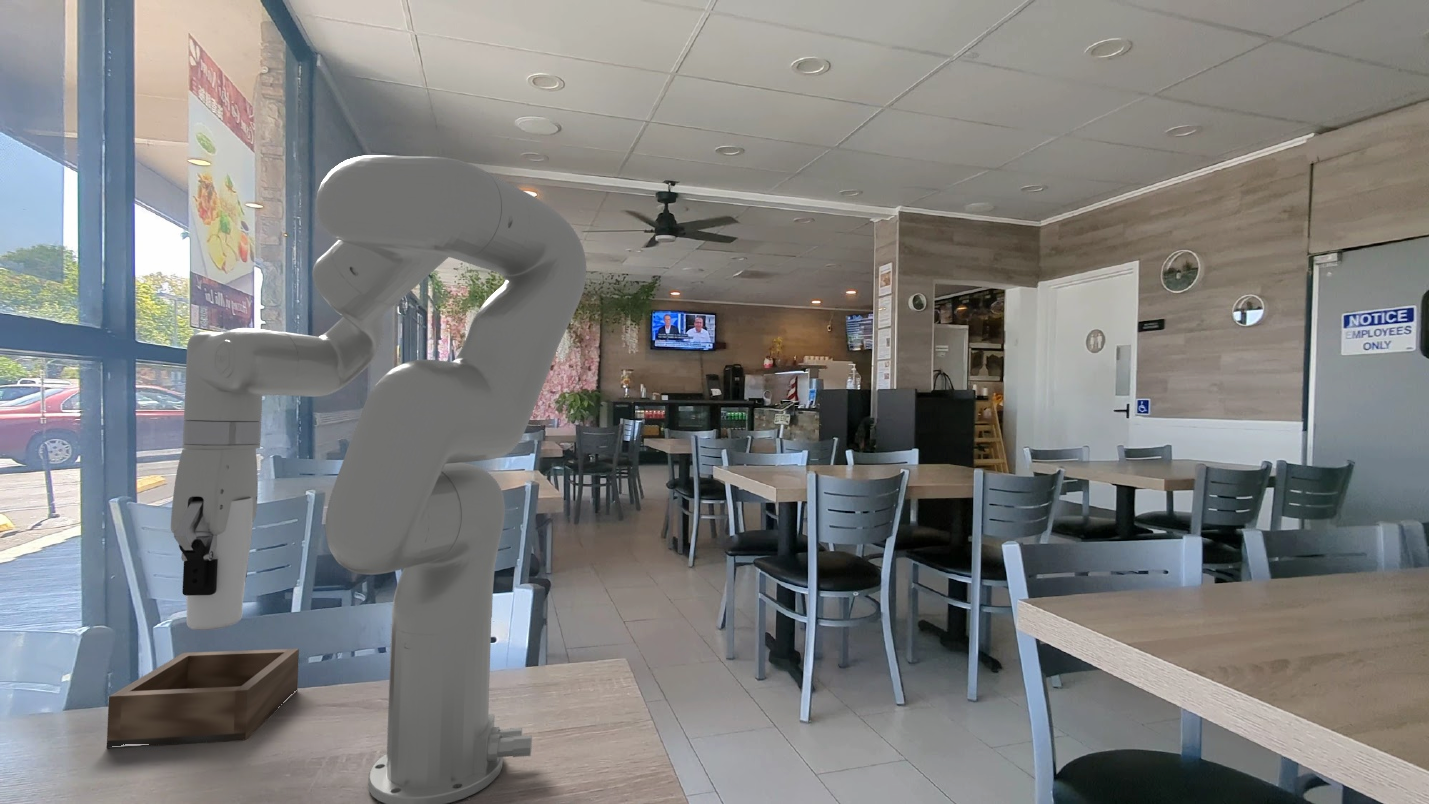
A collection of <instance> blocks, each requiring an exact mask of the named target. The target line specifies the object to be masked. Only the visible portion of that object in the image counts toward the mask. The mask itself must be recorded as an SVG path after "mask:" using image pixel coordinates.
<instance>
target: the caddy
mask: <svg viewBox="0 0 1429 804" xmlns="http://www.w3.org/2000/svg"><path fill="white" fill-rule="evenodd" d="M299 654H300V648H280V649H279V648H278V649H276V648H275V649H253V650H251V649H250V650H226V651H223V650H221V651H198V652H195V651H194V652H193V651H192V652H181V654H179V655H177V656H175V657H174V658H172V659H170V660H168V661H167V662H165V663H163V664H162V665H160V666H157V668H155V669H153V670H151V671H150V672H148V673H146V674H145V675H143V676H142V677H140V678H138V679H136V680H135V681H133V682H131V683H130V684H128V685H125V687H122V688H121V689H119V690H118V691H116V692H114V693H112V694H110V695H109V696H108V705H107V706H108V709H107V732H106V733H107V734H106V749H109V748H108V747H112V746H121V745H123V744H124V745H125V744H149V745H155V746H167V745H168V746H169V745H170V746H171V745H185V744H188V745H189V744H203V743H218V742H221V743H222V742H223V743H224V742H236V741H237V742H238V741H247V739H249V738H250V737H251V736H252V734H254V733H255V732H256V731H257V730H258V729H259V728H260V727H261V726H262V725H264V724H265V722H266V721H267V720H269V719H270V718H271V717H272V716H273V715H272V714H273V713H274V712H275V711H276V710H277V709H278V707H279V706H281V704H283V702H284V701H285V700H286V699H287V698H288V697H289V696H290V695H291V694H293V693H294V691H296V690H297V691H298V687H299V684H298V683H299V662H300V661H299V660H300V659H299V657H300V656H299ZM283 705H284V704H283ZM281 707H282V706H281ZM278 710H279V709H278ZM278 710H277V711H278ZM277 711H276V712H277ZM276 712H275V713H276ZM275 713H274V714H275ZM271 715H272V716H271ZM270 716H271V717H270Z"/></svg>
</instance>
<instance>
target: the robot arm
mask: <svg viewBox="0 0 1429 804" xmlns="http://www.w3.org/2000/svg"><path fill="white" fill-rule="evenodd" d="M315 205H316V206H315V211H316V215H317V218H318V221H319V222H320V225H321V227H322V228H323V229H324V230H325V231H326V232H327V233H328V234H329V235H330V236H331V237H333V238H335V239H336V240H337V241H335V243H333V244H332V246H331V247H329V249H328V250H327V251H326V252H324V253H323V254H322V255H321V256H320V257H319V258H317V260H316V261H315V263H314V264H313V268H312V279H313V283H314V286H315V288H316V290H317V291H318V293H319V294H320V296H321V297H322V298H323V300H324V301H325V302H326V303H327V305H329V306H330V308H332V309H333V310H334V311H335V312H336V313H338V314H339V315H340V316H341V318H340V319H339V320H338V321H337V322H336V323H335V324H334V325H333V326H332V327H330V328H329V329H328V330H327V331H326V332H324V333H323V334H321V335H319V336H314V335H308V334H301V333H294V332H286V331H277V330H270V329H261V328H253V327H252V328H251V327H250V328H249V327H241V328H234V329H230V330H227V331H224V332H220V331H203V332H202V331H201V332H197V333H195V334H192V336H191V337H189V340H188V342H187V345H186V361H185V362H186V365H185V366H186V367H185V368H186V369H185V384H184V385H185V387H184V388H185V391H184V409H183V412H184V413H183V425H182V426H183V428H182V429H183V430H182V431H183V432H182V450H181V453H180V455H179V456H180V457H179V460H178V466H177V468H176V469H177V470H176V474H175V475H176V476H175V481H174V488H173V497H172V506H171V517H170V531H171V533H172V534H173V538H174V539H175V541H176V542H177V544H178V548H179V550H180V551H181V556H180V557H181V558H180V559H181V560H182V562H183V571H182V573H183V574H182V594H183V596H185V597H186V596H189V595H212V594H214V593H216V588H217V566H218V559H213V557H214V554H215V550H216V546H217V535H219V534H221V533H223V532H224V531H225V529H226V525H227V521H228V516H229V512H230V506H231V502H232V501H237V500H244V499H249V497H250V496H251V497H252V498H253V522H254V520H255V519H256V516H257V511H258V510H257V508H258V497H259V496H258V492H259V491H258V489H259V486H258V482H259V481H258V460H257V458H258V457H257V450H256V449H260V448H261V435H262V412H263V411H262V410H263V396H273V397H275V396H290V397H291V396H292V397H294V396H295V397H310V398H311V397H312V398H315V397H316V398H317V397H326V396H329V395H331V394H334V393H336V392H338V391H340V390H342V389H343V388H345V387H346V386H347V385H348V384H350V383H351V382H352V381H354V379H356V378H357V377H358V376H359V375H360V374H361V373H363V371H365V370H366V369H367V368H369V366H370V365H371V364H372V363H373V362H374V360H375V358H376V357H377V355H378V353H379V350H380V349H381V348H380V347H381V345H382V340H383V338H384V337H383V336H384V331H385V320H384V316H385V315H386V314H387V313H388V312H389V311H390V310H391V309H393V308H394V307H395V306H396V305H398V303H399V302H400V301H401V300H402V299H403V298H404V297H406V296H407V295H408V294H409V293H410V292H411V291H412V290H414V289H415V288H416V287H417V286H418V285H420V284H421V283H422V282H423V280H425V279H426V278H427V277H429V275H430V274H432V273H433V272H434V271H435V270H436V269H437V268H439V266H441V265H442V264H444V262H445V261H446V260H447V259H448V258H452V259H455V260H458V261H461V262H463V263H466V264H470V265H473V266H476V267H477V268H478V267H479V268H481V269H486V270H490V271H492V272H495V273H499V274H500V275H501V276H502V277H503V279H504V283H503V284H502V285H501V286H500V287H499V288H498V289H497V290H496V291H495V292H493V293H492V294H491V295H490V296H489V297H488V298H487V299H486V300H485V301H484V302H483V304H482V305H481V307H480V308H479V310H477V313H476V314H475V316H474V318H473V320H472V321H471V324H470V326H469V330H468V333H467V336H466V338H465V340H464V342H463V345H462V347H461V349H460V351H459V353H458V354H457V356H456V358H455V359H454V360H452V361H445V360H437V359H415V360H409V361H406V362H404V363H401V364H398V365H397V366H395V367H393V368H392V369H390V370H389V371H388V372H386V374H384V375H383V376H382V377H381V378H380V379H379V381H377V383H376V384H375V385H374V386H373V387H372V389H371V391H370V392H369V394H368V396H367V397H366V400H365V403H364V405H363V408H362V410H361V412H360V415H359V417H358V420H357V423H356V426H355V427H354V432H353V433H352V436H351V439H350V440H349V441H350V442H349V444H348V446H347V450H346V453H345V455H344V458H343V460H342V463H341V466H340V468H339V471H338V473H337V476H336V480H335V482H334V485H333V488H332V489H331V490H332V491H331V493H330V497H329V500H328V503H327V508H326V512H325V513H326V514H325V522H324V524H325V525H324V526H325V527H324V529H325V537H326V541H327V546H328V549H329V552H331V555H332V556H333V558H334V559H335V561H336V562H337V563H338V564H339V565H340V566H342V568H345V569H346V570H348V571H350V572H352V573H357V574H360V575H382V574H388V573H392V572H396V571H400V570H401V573H400V577H399V579H398V582H397V585H396V588H395V592H394V597H393V602H392V610H391V611H392V612H391V624H390V625H391V627H390V628H391V629H390V651H389V652H390V656H389V679H388V680H389V683H388V684H389V686H388V707H387V709H388V710H387V711H388V712H387V713H388V714H387V736H386V738H387V741H386V753H385V754H384V755H383V756H382V757H380V758H379V759H378V760H377V761H376V762H375V763H374V764H373V765H371V766H372V767H371V768H370V771H369V773H368V781H367V784H368V785H367V786H368V791H369V793H370V794H371V796H372V797H373V799H376V800H377V801H378V802H381V803H382V804H450V803H451V804H452V803H455V802H456V801H460V800H464V799H466V798H468V797H470V796H473V795H475V794H477V793H478V792H480V791H481V790H483V789H485V788H486V787H488V785H490V784H491V783H492V782H494V780H495V779H496V778H498V776H499V775H500V773H501V770H502V768H503V763H504V761H503V758H506V757H508V758H509V757H512V758H519V757H520V758H521V757H523V758H524V757H531V756H532V750H533V749H532V748H533V747H532V745H533V735H532V734H531V735H523V727H514V728H512V727H511V728H507V729H501V728H500V726H495V716H496V715H495V714H494V713H493V714H492V713H491V714H489V707H490V675H491V674H490V672H491V645H492V642H491V641H492V640H491V639H492V619H493V618H492V617H493V600H494V599H493V598H494V582H495V570H496V564H497V558H498V557H497V556H498V552H499V549H500V543H501V539H502V538H501V537H502V534H503V529H504V524H505V515H506V510H505V509H506V504H505V503H506V502H505V498H504V493H503V491H502V489H501V486H500V485H499V483H498V481H497V479H496V478H494V476H493V475H492V474H491V473H489V472H488V471H487V470H486V469H484V468H481V467H480V466H478V465H475V464H471V463H470V462H481V461H490V460H495V459H498V458H502V457H504V456H506V455H508V454H510V453H511V452H512V451H513V450H514V449H515V448H516V447H517V446H518V444H519V443H520V441H521V440H522V438H523V436H524V434H525V432H526V429H527V428H528V425H529V423H530V421H531V417H532V415H533V412H534V409H535V407H536V405H537V402H538V399H539V397H540V395H541V392H542V390H543V387H544V385H545V383H546V379H547V378H548V374H549V372H550V370H551V367H552V364H553V361H554V358H555V355H556V354H557V351H558V348H559V346H560V344H561V342H562V340H563V337H564V335H565V333H566V330H567V329H568V327H569V324H570V323H571V321H572V319H573V317H574V315H575V312H576V310H577V309H578V306H579V304H580V301H581V298H582V295H583V294H584V289H585V285H586V282H587V281H586V280H587V260H586V259H587V257H586V255H585V250H584V248H583V247H584V246H583V245H582V242H581V240H580V237H579V236H578V234H577V233H576V231H575V229H574V228H573V227H572V226H571V224H570V223H569V221H567V219H566V218H564V217H563V215H561V214H560V213H559V212H558V211H556V209H554V208H552V207H551V206H550V205H548V204H547V203H545V202H544V201H543V200H541V199H539V198H537V197H535V196H534V195H532V194H530V193H528V192H526V191H524V190H523V189H521V188H518V187H516V186H514V185H512V184H510V183H509V182H507V181H504V180H502V179H501V178H498V177H497V176H496V175H493V174H492V173H489V172H487V170H484V169H482V168H479V167H478V166H475V165H473V164H471V163H468V162H466V161H464V160H460V159H456V158H450V157H443V156H423V155H422V156H420V155H419V156H416V155H415V156H414V155H413V156H411V155H410V156H409V155H405V156H404V155H375V154H374V155H372V154H371V155H361V156H356V157H352V158H350V159H346V160H344V161H343V162H340V163H339V164H338V165H336V166H335V167H334V168H332V169H331V170H330V171H329V172H328V173H327V175H326V176H325V177H324V178H323V180H322V182H321V183H320V185H319V188H318V190H317V193H316V198H315ZM203 515H204V518H205V520H206V522H207V523H209V522H210V529H208V531H210V532H195V530H196V528H197V526H198V524H199V522H200V520H201V519H202V517H203ZM197 538H208V540H207V544H206V547H205V545H204V544H203V542H202V541H201V539H197ZM247 577H248V573H247V574H246V578H247Z"/></svg>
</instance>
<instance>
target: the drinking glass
mask: <svg viewBox="0 0 1429 804" xmlns="http://www.w3.org/2000/svg"><path fill="white" fill-rule="evenodd" d="M253 523H254V521H253V498H252V497H251V496H250V497H249V499H244V500H237V501H232V502H231V506H230V512H229V516H228V521H227V525H226V529H225V531H224V532H223V533H221V534H219V535H217V546H216V550H215V554H214V557H213V559H218V566H217V588H216V593H214V594H212V595H189V596H186V595H185V598H186V619H185V620H186V625H187V627H188V628H189V629H191V630H196V631H209V630H210V631H211V630H219V629H223V628H226V627H230V626H233V625H235V624H238V623H239V622H240V621H241V619H242V617H243V611H244V610H243V608H244V607H243V606H244V604H243V603H244V596H245V588H246V579H247V577H246V574H247V575H248V565H249V559H250V552H251V551H250V550H251V543H252V536H253V535H252V534H253V527H254V524H253ZM208 529H210V522H209V523H207V522H206V520H205V518H204V515H203V517H202V519H201V520H200V522H199V524H198V526H197V528H196V530H195V532H210V531H208ZM197 539H201V541H202V542H203V544H204V545H205V547H206V544H207V540H208V538H197Z"/></svg>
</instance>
